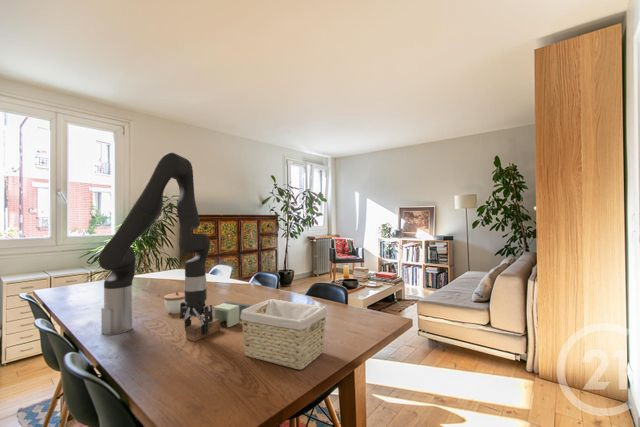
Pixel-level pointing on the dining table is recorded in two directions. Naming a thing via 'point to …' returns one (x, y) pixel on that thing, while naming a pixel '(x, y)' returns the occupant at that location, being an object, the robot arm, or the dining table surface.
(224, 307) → the sage block
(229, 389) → the dining table surface
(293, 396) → the dining table surface
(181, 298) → the lidded jar
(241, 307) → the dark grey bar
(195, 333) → the walnut block
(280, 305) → the storage basket
